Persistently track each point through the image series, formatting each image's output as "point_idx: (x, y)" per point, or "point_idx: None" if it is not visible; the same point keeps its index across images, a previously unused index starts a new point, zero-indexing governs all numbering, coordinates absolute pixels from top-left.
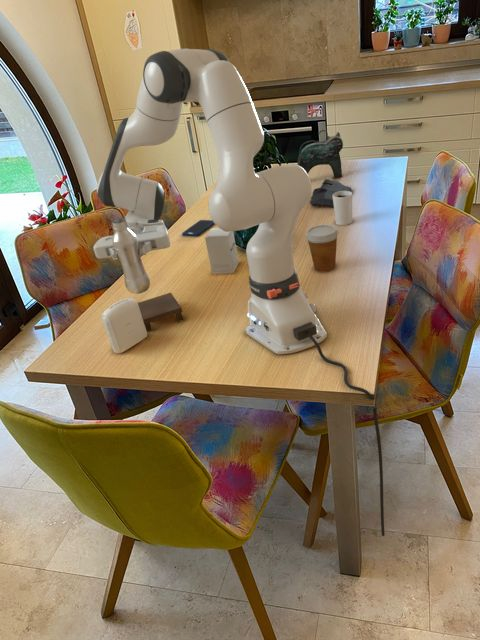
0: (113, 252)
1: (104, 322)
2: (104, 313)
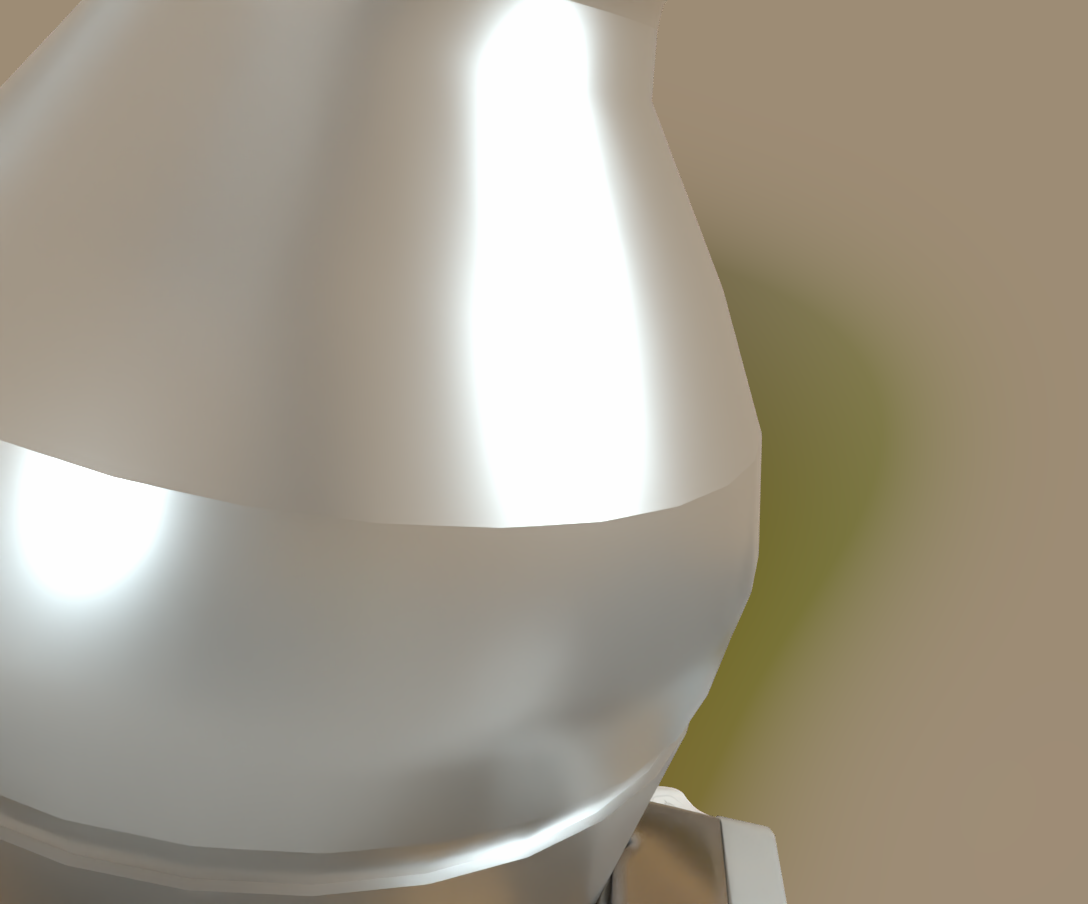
0: (737, 893)
1: None
2: (692, 810)
